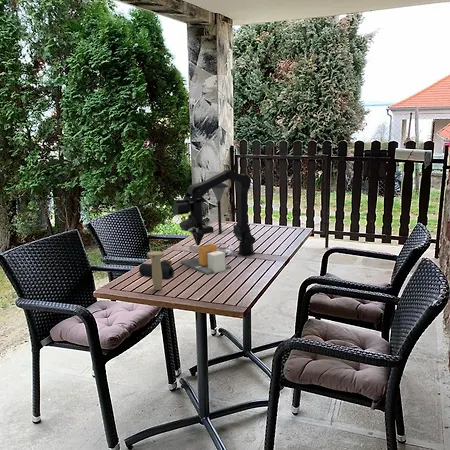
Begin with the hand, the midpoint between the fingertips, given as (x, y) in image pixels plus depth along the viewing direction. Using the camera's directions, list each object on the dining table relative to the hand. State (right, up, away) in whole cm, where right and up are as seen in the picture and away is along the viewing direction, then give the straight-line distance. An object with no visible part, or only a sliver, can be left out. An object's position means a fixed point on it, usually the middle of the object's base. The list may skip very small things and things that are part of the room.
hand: (198, 245), depth 208 cm
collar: (+5, -8, -4) cm, 10 cm away
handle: (-14, -16, -30) cm, 37 cm away
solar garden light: (+10, +4, +57) cm, 58 cm away
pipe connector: (-16, -12, -11) cm, 23 cm away
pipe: (+3, -4, -2) cm, 6 cm away
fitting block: (+9, -11, -9) cm, 17 cm away
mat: (+4, -9, -2) cm, 10 cm away
